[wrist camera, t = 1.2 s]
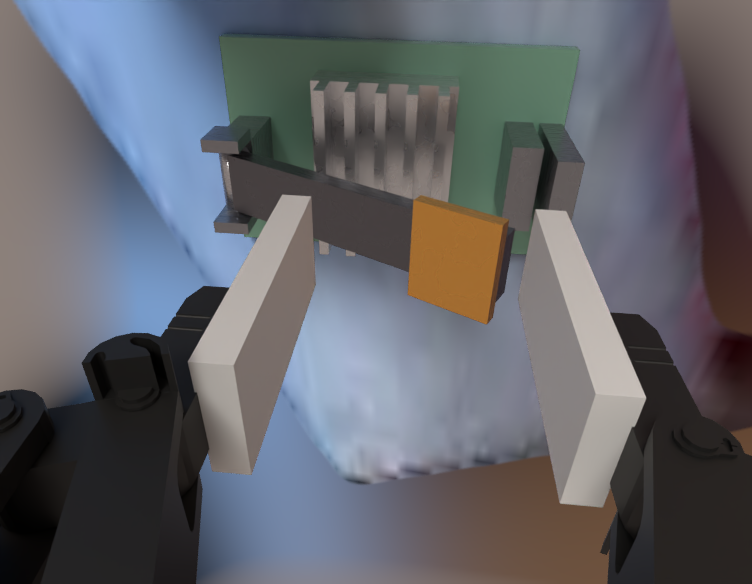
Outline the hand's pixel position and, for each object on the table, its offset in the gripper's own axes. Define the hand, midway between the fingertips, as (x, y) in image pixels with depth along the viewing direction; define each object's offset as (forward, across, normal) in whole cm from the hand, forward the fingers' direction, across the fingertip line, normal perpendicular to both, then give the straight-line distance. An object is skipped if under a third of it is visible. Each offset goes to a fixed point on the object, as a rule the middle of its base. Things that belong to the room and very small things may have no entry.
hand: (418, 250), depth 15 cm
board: (+30, -2, -8) cm, 31 cm away
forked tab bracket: (+29, -13, -8) cm, 32 cm away
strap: (+18, -4, -8) cm, 21 cm away
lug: (+29, +8, -8) cm, 31 cm away
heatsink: (+29, -3, -8) cm, 30 cm away
